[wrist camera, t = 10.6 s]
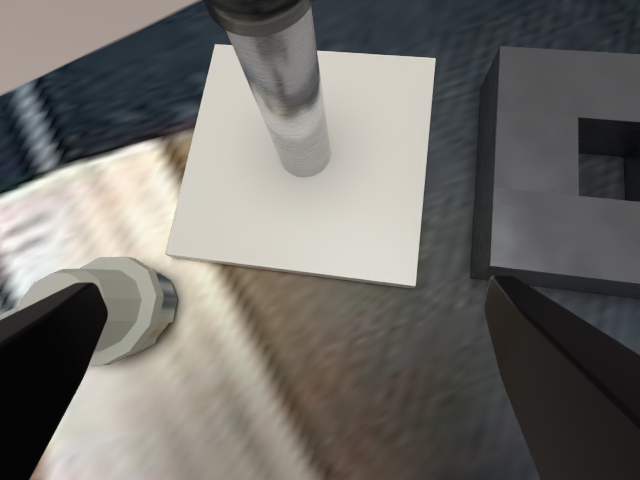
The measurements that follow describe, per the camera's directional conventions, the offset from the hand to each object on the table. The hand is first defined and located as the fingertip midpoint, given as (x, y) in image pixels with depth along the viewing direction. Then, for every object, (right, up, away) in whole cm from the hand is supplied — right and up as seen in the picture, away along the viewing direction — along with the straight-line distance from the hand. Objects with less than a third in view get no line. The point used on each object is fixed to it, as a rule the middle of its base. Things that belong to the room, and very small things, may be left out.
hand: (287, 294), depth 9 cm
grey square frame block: (+16, +4, +14) cm, 21 cm away
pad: (0, +6, +16) cm, 17 cm away
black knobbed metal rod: (0, +6, +15) cm, 16 cm away
